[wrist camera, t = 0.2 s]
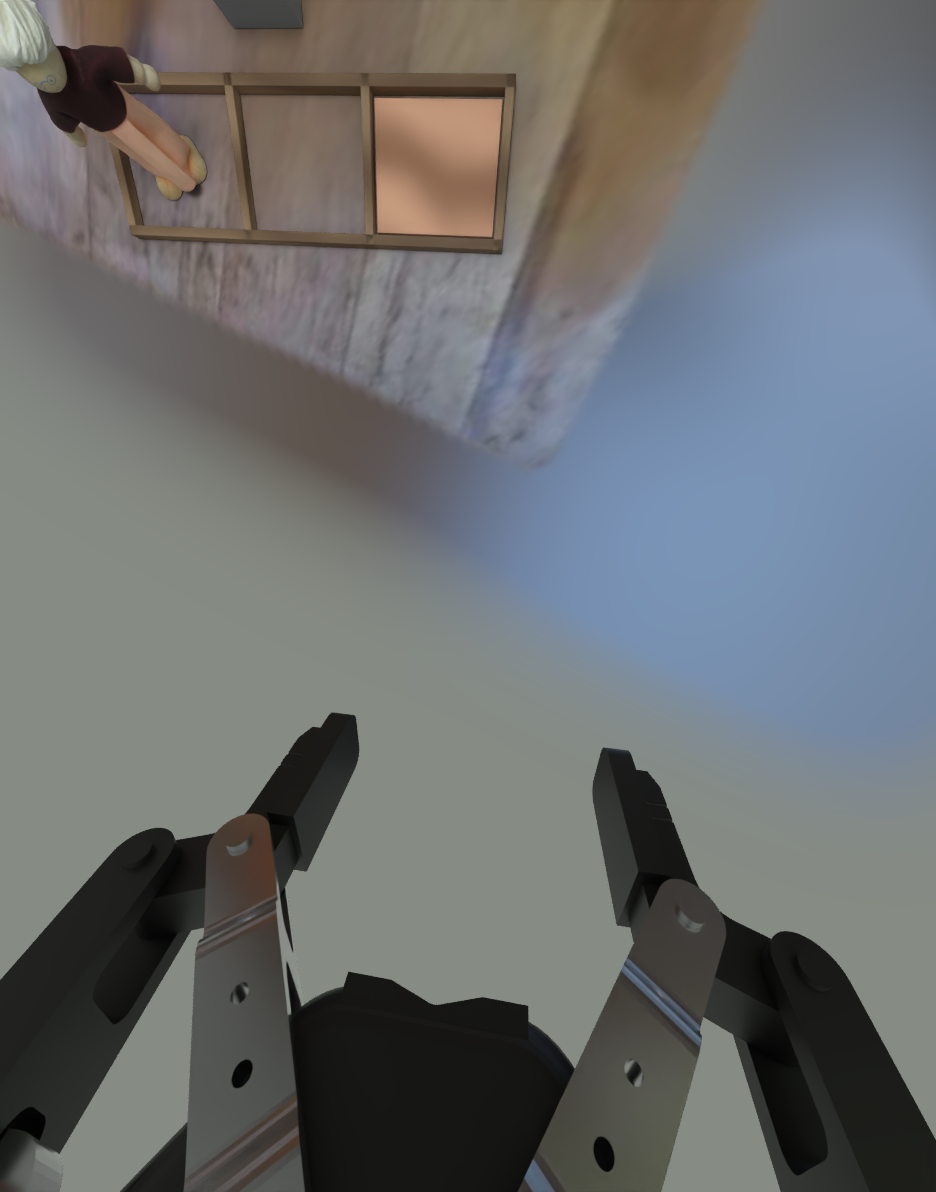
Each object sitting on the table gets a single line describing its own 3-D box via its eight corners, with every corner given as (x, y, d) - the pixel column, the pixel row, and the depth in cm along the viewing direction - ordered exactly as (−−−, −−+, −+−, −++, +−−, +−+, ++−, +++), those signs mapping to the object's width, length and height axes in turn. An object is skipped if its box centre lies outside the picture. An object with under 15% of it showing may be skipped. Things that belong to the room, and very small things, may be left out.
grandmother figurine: (172, 227, 32) (-26, 118, 20) (137, 173, 30) (-94, 25, 19) (235, 158, 29) (52, -10, 18) (200, 97, 28) (-21, -126, 17)
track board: (103, 80, 28) (93, 72, 28) (515, 83, 26) (515, 73, 25) (139, 238, 32) (131, 234, 31) (501, 253, 30) (501, 250, 29)
